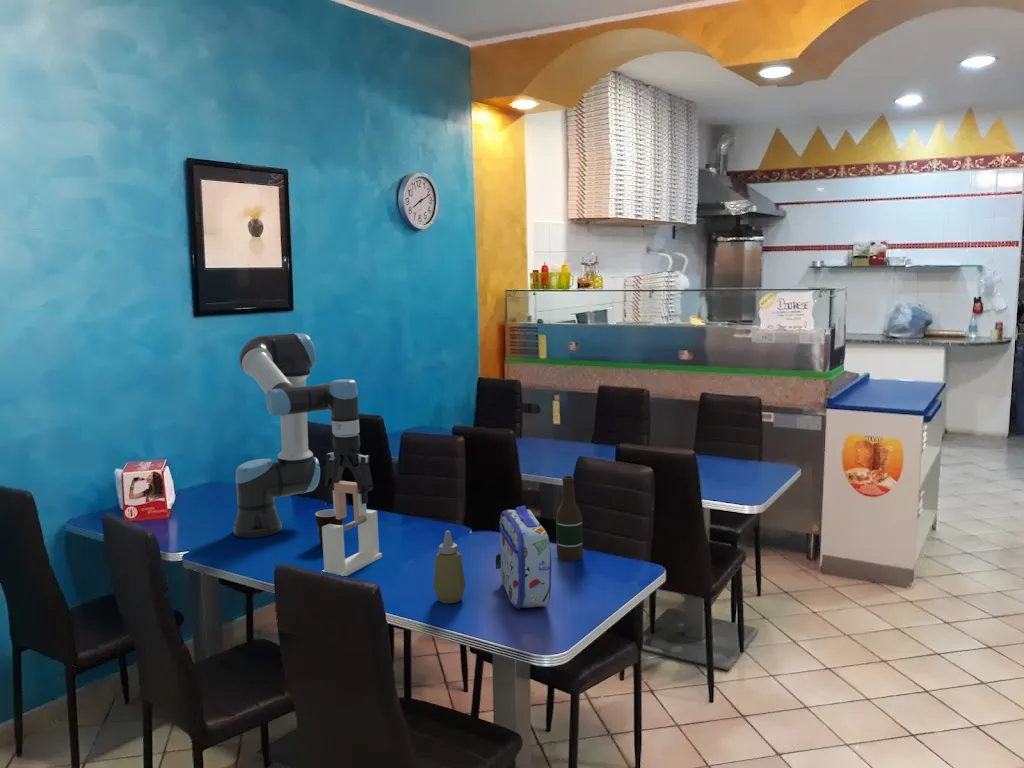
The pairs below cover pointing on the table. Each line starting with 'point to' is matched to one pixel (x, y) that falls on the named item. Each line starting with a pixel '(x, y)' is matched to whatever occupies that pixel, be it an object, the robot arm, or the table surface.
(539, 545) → the lunch box
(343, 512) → the arch
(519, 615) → the table surface
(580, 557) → the beer bottle
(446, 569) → the squeeze bottle
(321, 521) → the coffee mug
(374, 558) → the rod bracket
